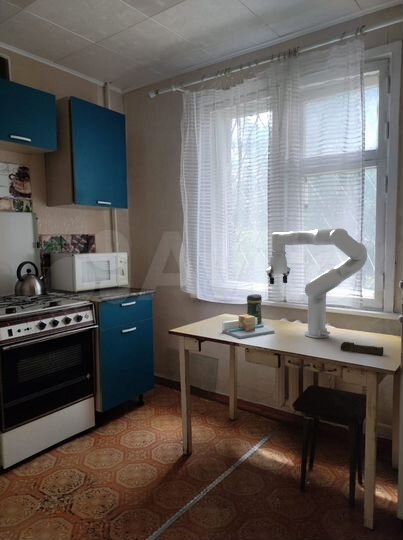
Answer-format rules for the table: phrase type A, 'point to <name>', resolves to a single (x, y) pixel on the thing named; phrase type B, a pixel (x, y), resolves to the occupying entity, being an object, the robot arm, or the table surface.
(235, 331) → the cleat board
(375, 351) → the hand tool
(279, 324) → the table surface
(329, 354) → the table surface
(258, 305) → the coffee jar
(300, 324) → the table surface
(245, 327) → the oak block
